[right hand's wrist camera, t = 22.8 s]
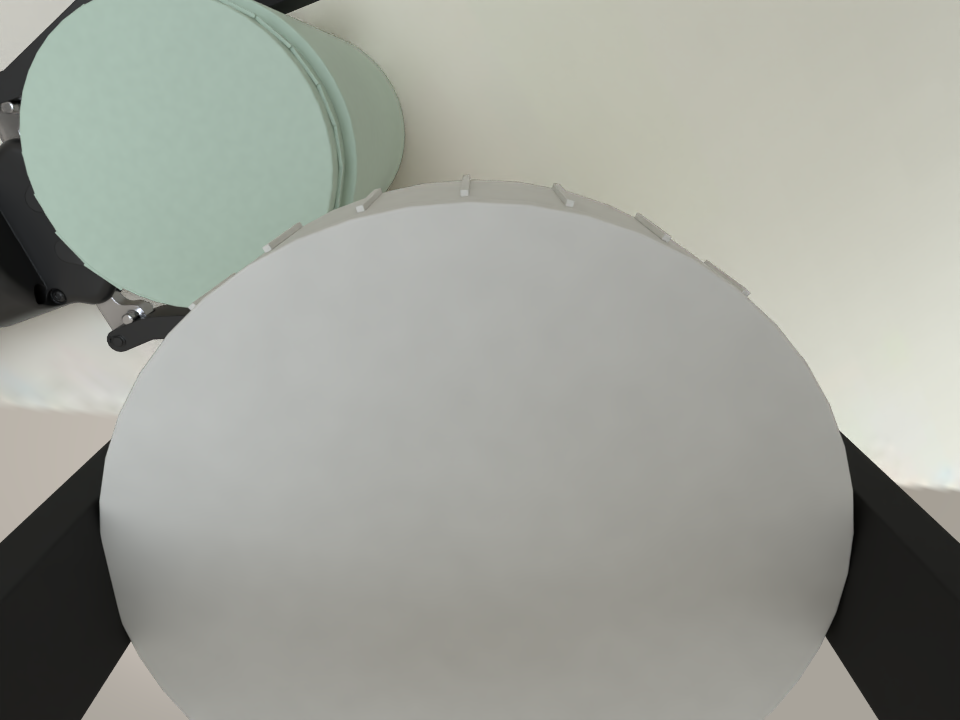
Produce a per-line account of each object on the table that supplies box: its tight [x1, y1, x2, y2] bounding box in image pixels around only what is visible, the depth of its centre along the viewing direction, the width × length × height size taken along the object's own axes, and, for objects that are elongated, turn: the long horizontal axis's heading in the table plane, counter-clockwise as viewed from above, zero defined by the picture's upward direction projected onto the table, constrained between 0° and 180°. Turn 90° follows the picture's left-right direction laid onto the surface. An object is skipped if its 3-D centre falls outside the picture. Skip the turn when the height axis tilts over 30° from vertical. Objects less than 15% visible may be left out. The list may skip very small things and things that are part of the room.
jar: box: [20, 0, 405, 308], centre depth 30 cm, size 10×10×19 cm
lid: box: [99, 175, 854, 720], centre depth 12 cm, size 12×12×2 cm
